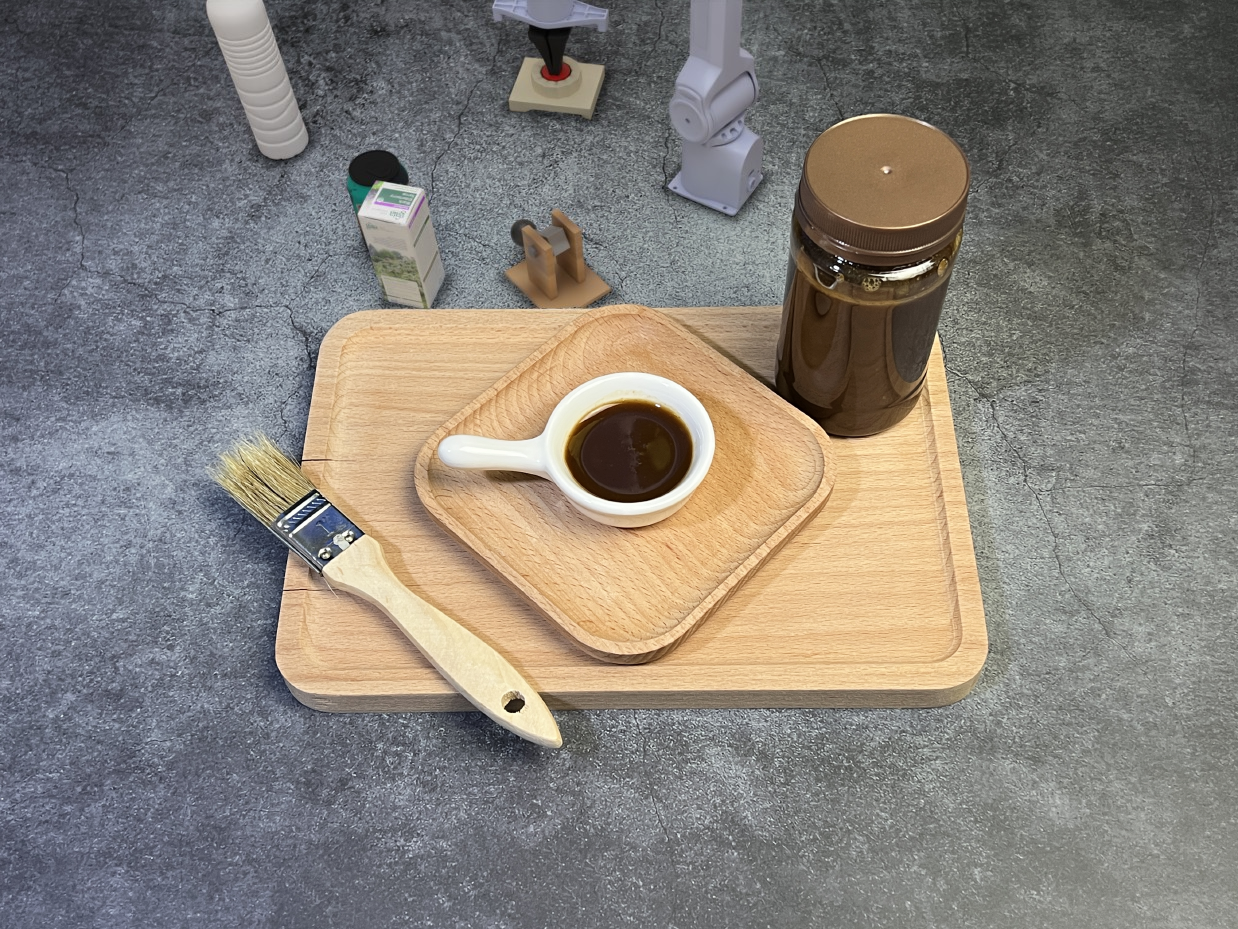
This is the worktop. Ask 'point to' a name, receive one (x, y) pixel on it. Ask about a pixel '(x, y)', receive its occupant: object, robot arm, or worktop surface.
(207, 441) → the worktop surface
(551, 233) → the lever
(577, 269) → the bracket
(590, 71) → the button box
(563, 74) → the button
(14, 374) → the worktop surface
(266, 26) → the water bottle
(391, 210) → the syrup box
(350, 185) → the teal lidded canister
